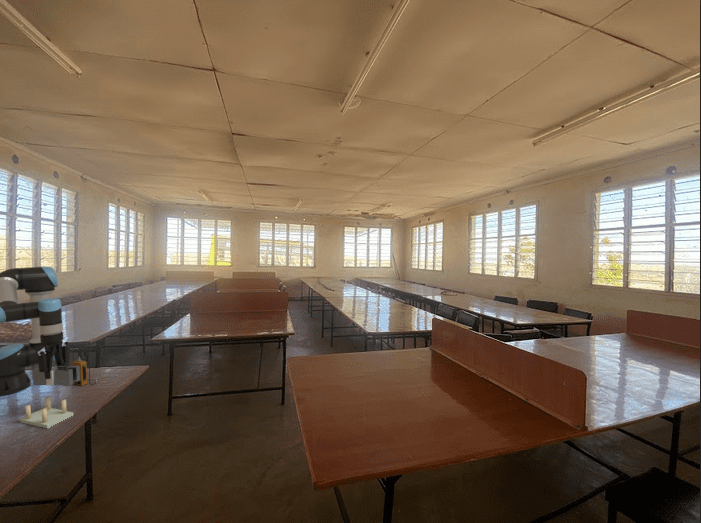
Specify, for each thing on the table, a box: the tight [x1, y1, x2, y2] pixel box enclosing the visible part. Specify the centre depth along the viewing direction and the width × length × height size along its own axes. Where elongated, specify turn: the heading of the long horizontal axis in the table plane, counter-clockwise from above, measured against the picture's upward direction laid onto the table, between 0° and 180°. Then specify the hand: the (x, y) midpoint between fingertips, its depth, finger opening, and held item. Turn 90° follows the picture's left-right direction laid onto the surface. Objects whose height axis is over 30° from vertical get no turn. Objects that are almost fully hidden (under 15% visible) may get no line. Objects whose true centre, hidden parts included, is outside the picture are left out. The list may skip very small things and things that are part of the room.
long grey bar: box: [31, 365, 80, 387], centre depth 142 cm, size 17×6×7 cm, turn 92°
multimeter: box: [71, 349, 98, 387], centre depth 174 cm, size 15×10×20 cm
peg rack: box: [19, 396, 74, 430], centre depth 139 cm, size 17×10×8 cm, turn 76°
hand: (55, 382), depth 142 cm, fingers closed on long grey bar, 4 cm apart
